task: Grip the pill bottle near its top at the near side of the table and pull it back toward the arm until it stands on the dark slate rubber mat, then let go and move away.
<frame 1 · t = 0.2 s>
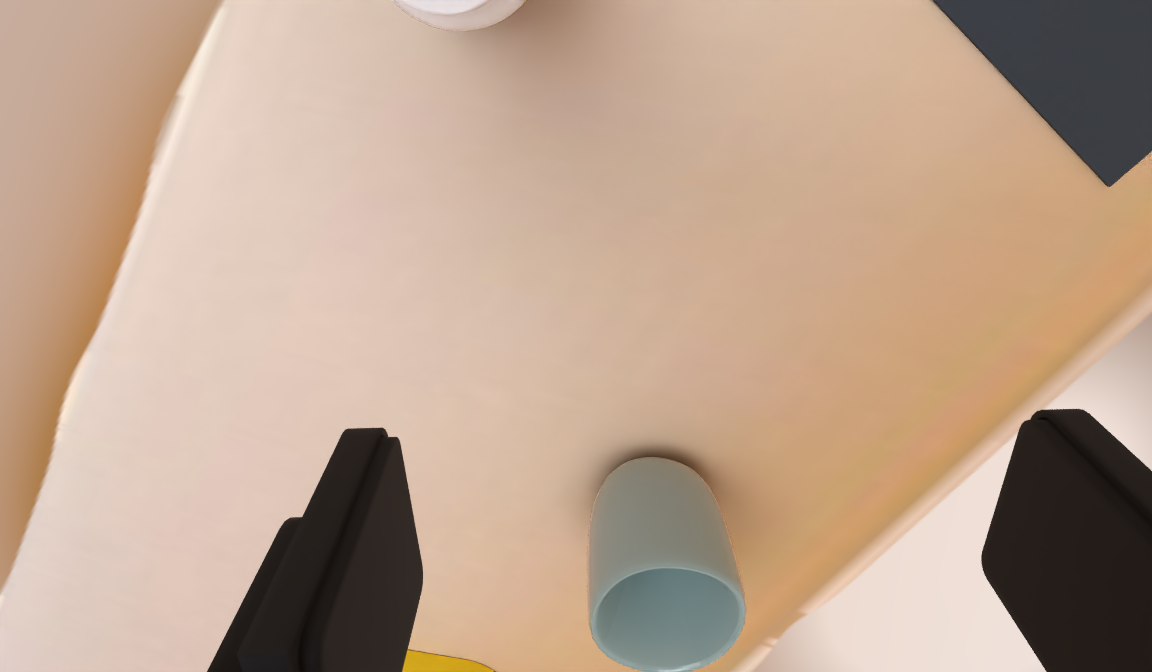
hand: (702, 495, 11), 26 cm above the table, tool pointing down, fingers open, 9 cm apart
cup: (649, 486, 45), on the table
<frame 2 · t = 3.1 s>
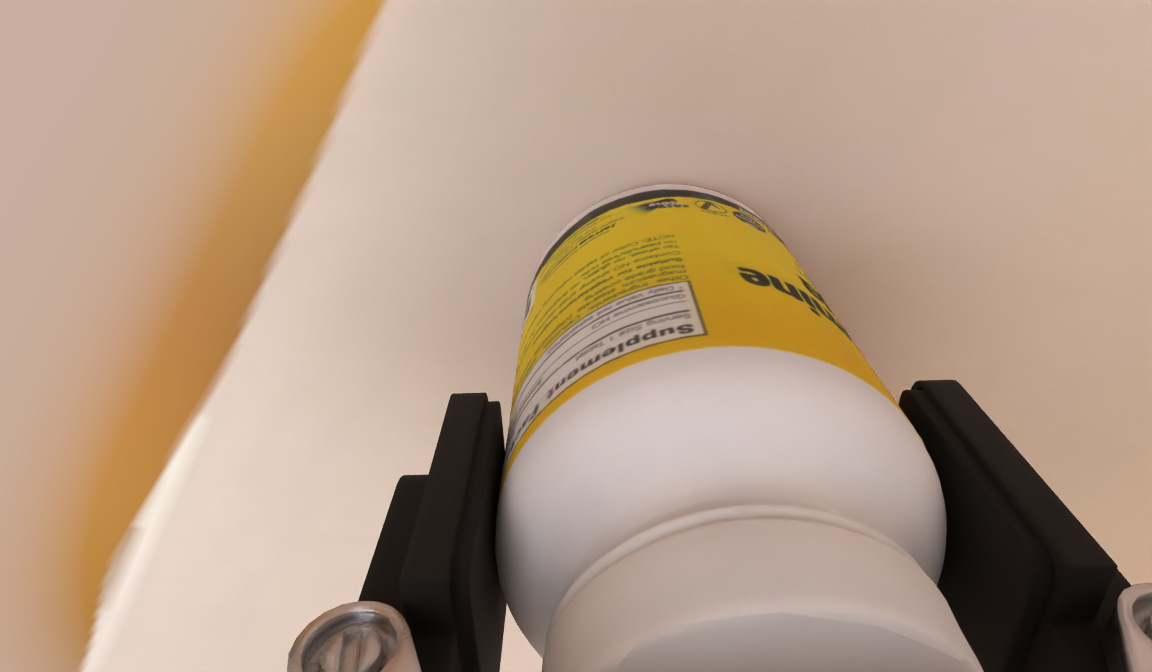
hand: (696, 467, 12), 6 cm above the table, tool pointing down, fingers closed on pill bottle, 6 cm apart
pill bottle: (659, 300, 17), on the table, touching gripper
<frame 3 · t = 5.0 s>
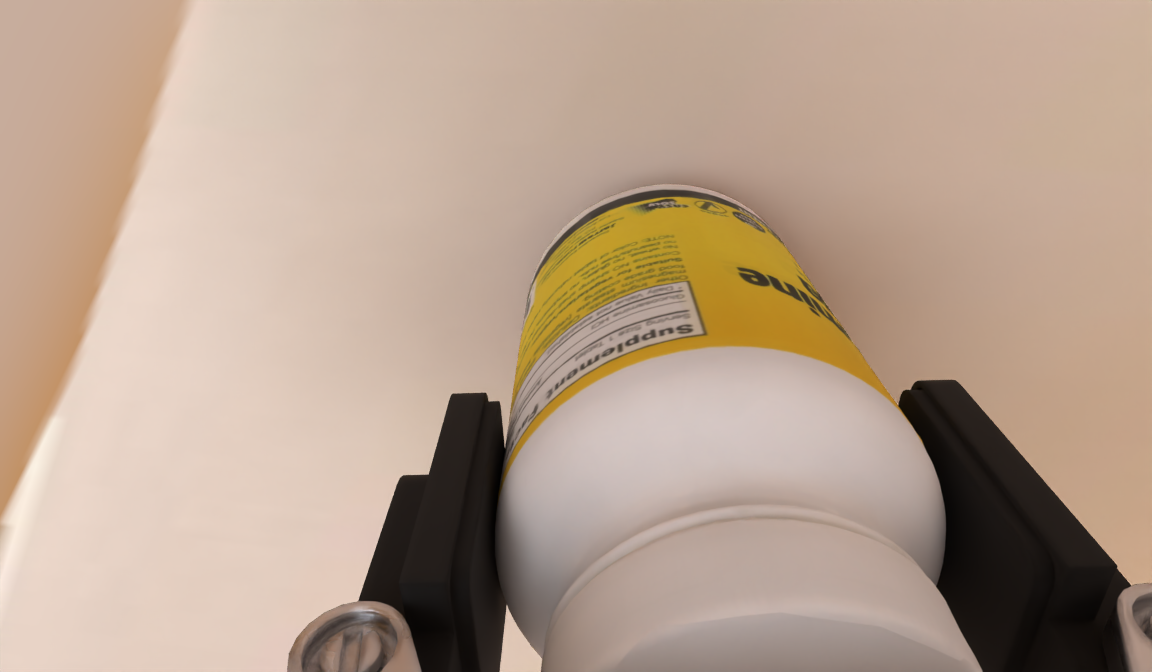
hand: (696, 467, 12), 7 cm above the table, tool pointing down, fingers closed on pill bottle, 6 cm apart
pill bottle: (658, 300, 17), point 1 cm above the table, touching gripper
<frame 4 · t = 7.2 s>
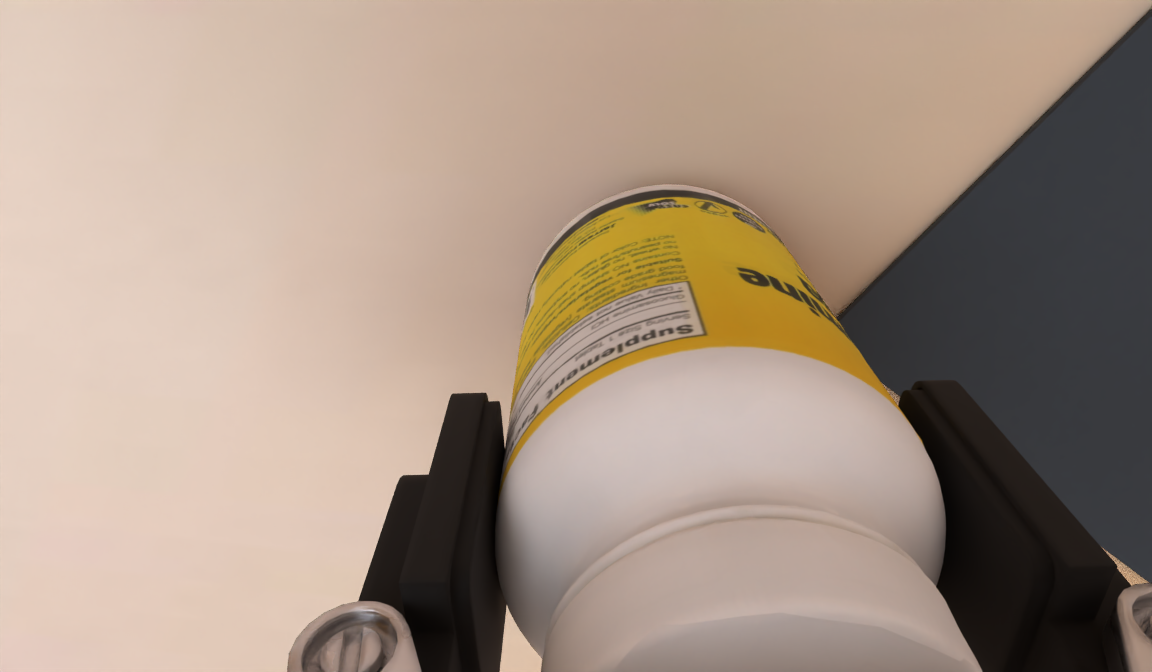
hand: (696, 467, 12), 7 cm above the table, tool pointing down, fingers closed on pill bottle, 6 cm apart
pill bottle: (658, 300, 17), point 1 cm above the table, touching gripper
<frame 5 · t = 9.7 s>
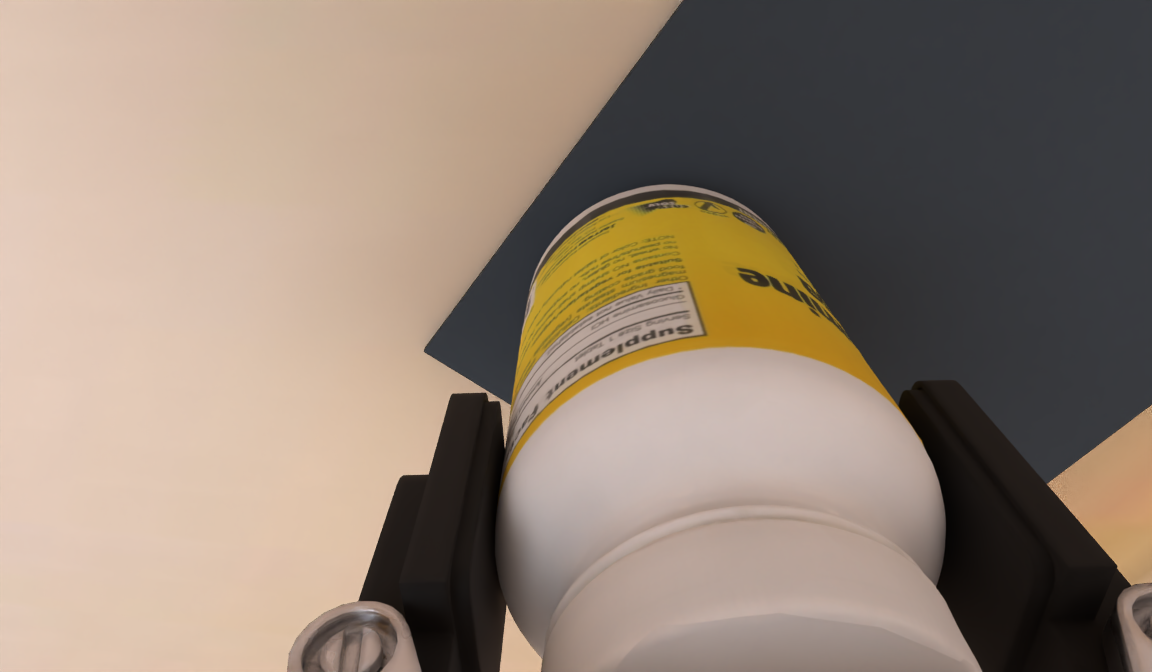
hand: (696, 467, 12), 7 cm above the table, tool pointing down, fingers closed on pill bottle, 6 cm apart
mat: (879, 290, 18), on the table
pill bottle: (658, 301, 17), point 1 cm above the table, touching gripper
when the fingers open (6 cm above the table, at t = 11.7 s): pill bottle stays where it is, resting on mat.
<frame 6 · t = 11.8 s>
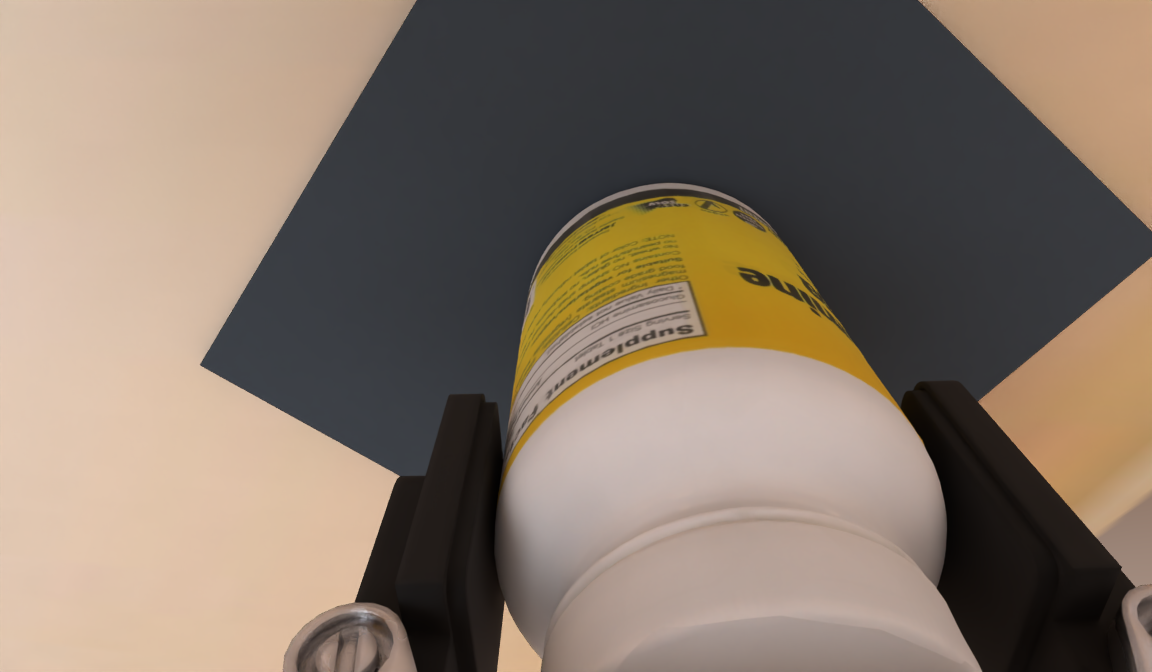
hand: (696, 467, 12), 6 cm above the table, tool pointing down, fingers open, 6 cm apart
mat: (660, 304, 17), on the table
pill bottle: (658, 299, 17), resting on mat
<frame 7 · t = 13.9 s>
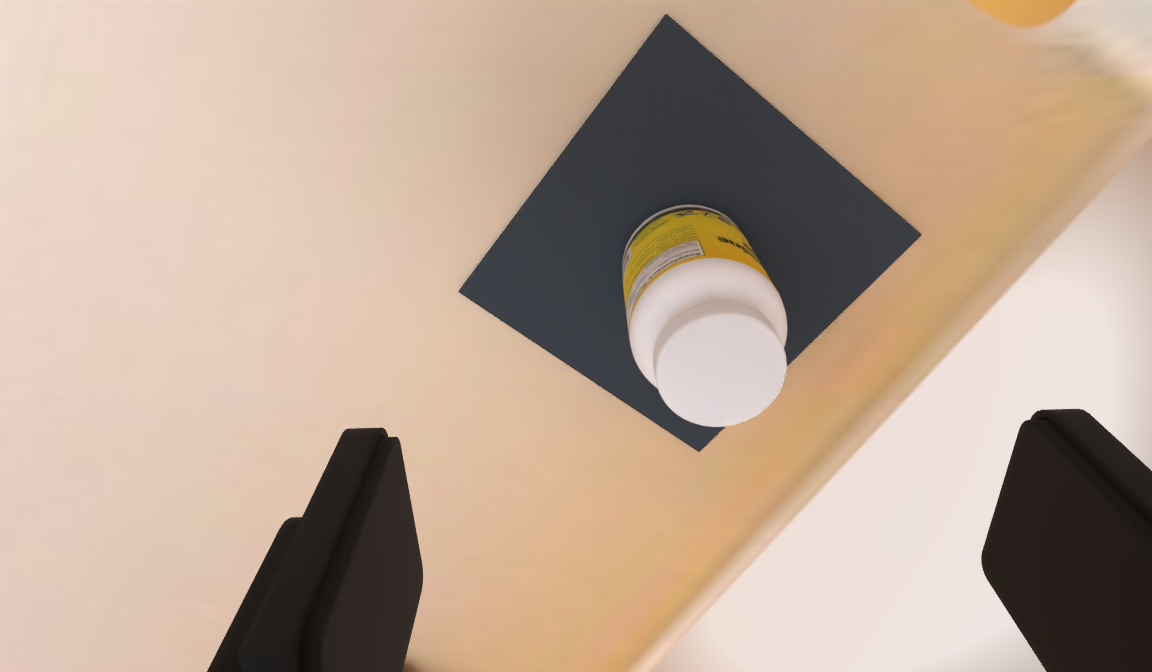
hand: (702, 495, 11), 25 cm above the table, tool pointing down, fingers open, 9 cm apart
mat: (684, 262, 36), on the table
pill bottle: (683, 260, 36), resting on mat
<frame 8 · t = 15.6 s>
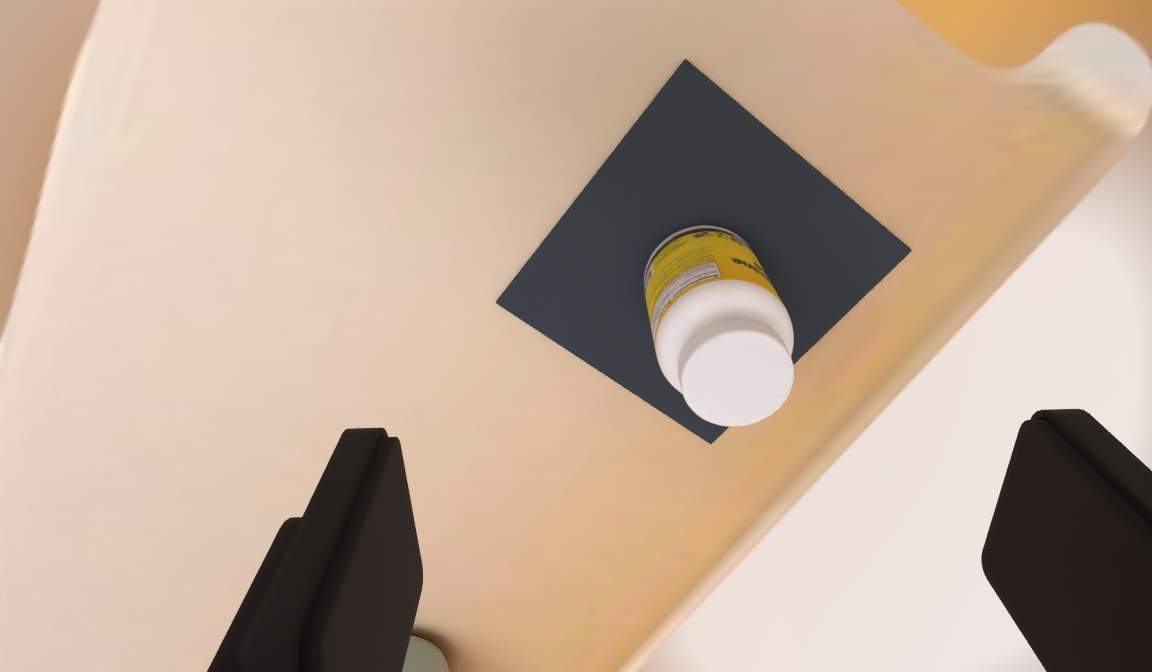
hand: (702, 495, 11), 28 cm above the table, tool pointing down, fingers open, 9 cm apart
mat: (699, 275, 40), on the table
pill bottle: (698, 273, 40), resting on mat
cup: (407, 651, 55), on the table
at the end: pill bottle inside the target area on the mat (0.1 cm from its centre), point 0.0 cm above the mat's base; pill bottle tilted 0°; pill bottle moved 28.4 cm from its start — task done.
